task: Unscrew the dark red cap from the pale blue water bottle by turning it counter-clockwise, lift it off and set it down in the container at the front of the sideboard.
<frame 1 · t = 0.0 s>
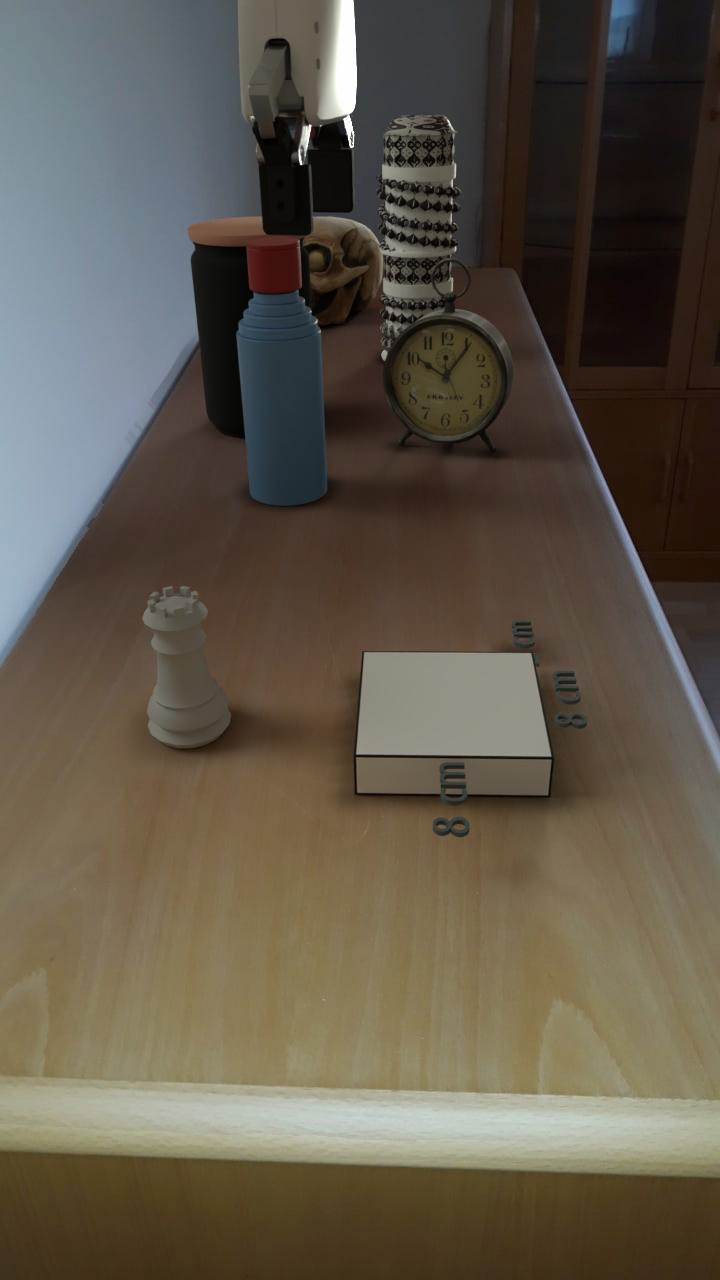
hand: (311, 222, 66), 21 cm above the table, tool pointing down, fingers open, 9 cm apart
bottle: (288, 490, 81), on the table
rook chess piece: (191, 730, 53), on the table
decorative candle: (416, 358, 116), on the table
alarm clock: (447, 448, 90), on the table
skull: (322, 316, 134), on the table
container: (467, 739, 52), on the table
cap: (273, 245, 72), point 19 cm above the table, screwed on, not yet turned
coffee jar: (262, 424, 96), on the table
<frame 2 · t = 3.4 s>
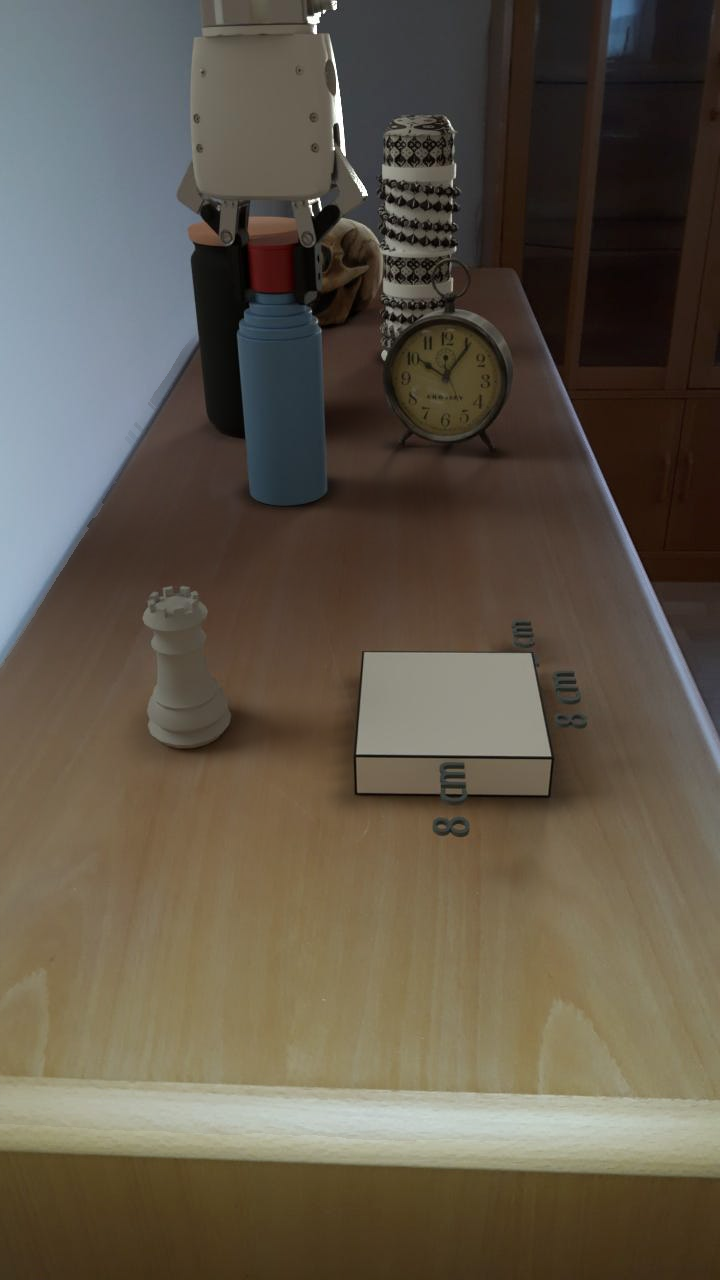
hand: (276, 297, 73), 15 cm above the table, tool pointing down, fingers closed on bottle, 4 cm apart
bottle: (288, 490, 81), on the table, touching gripper
cap: (274, 245, 72), point 19 cm above the table, screwed on, not yet turned, touching gripper
everything else where it was.
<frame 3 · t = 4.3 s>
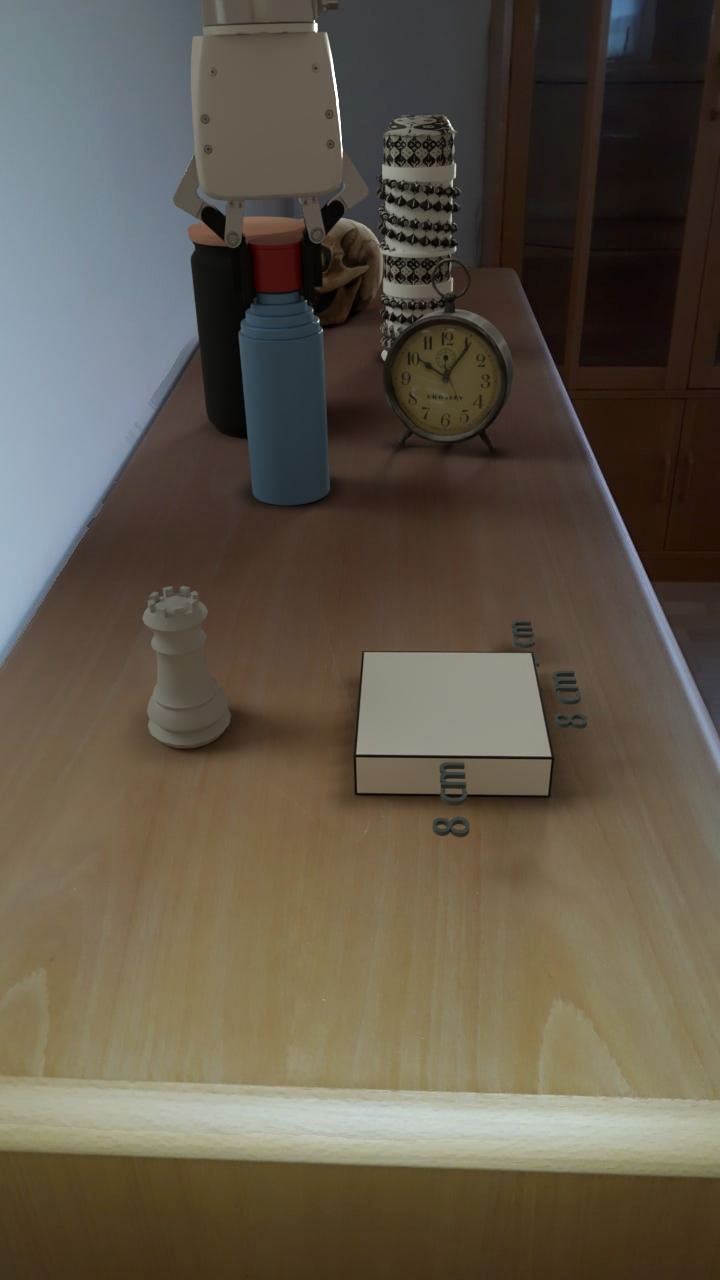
hand: (278, 296, 73), 15 cm above the table, tool pointing down, fingers closed on cap, 3 cm apart
bottle: (291, 490, 81), on the table
cap: (275, 244, 71), point 19 cm above the table, turned 15° so far, risen 0.0 cm, still on its thread, touching gripper
everything else where it was.
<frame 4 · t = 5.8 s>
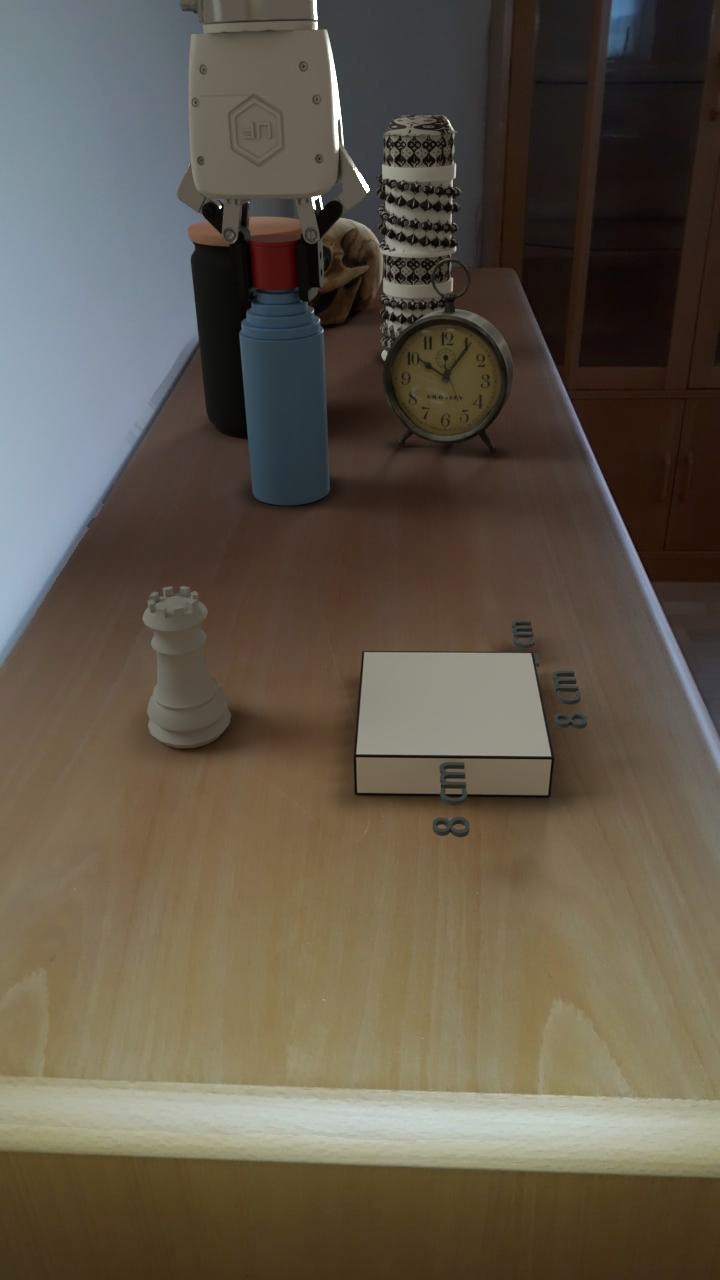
hand: (279, 295, 73), 16 cm above the table, tool pointing down, fingers closed on cap, 3 cm apart
cap: (275, 242, 71), point 19 cm above the table, turned 176° so far, risen 0.2 cm, still on its thread, touching gripper
everything else where it was.
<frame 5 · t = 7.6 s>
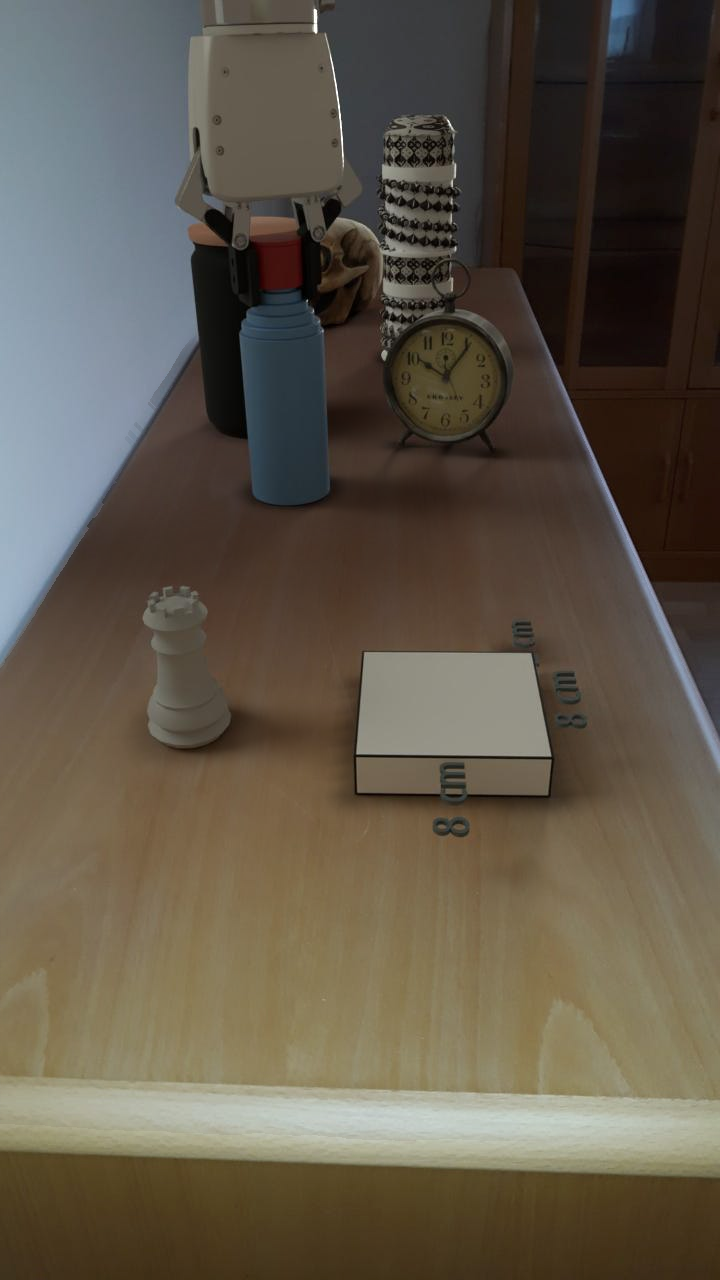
hand: (278, 297, 73), 15 cm above the table, tool pointing down, fingers closed on cap, 3 cm apart
bottle: (291, 490, 81), on the table, touching gripper
cap: (274, 242, 71), point 19 cm above the table, off its thread, touching gripper
everything else where it was.
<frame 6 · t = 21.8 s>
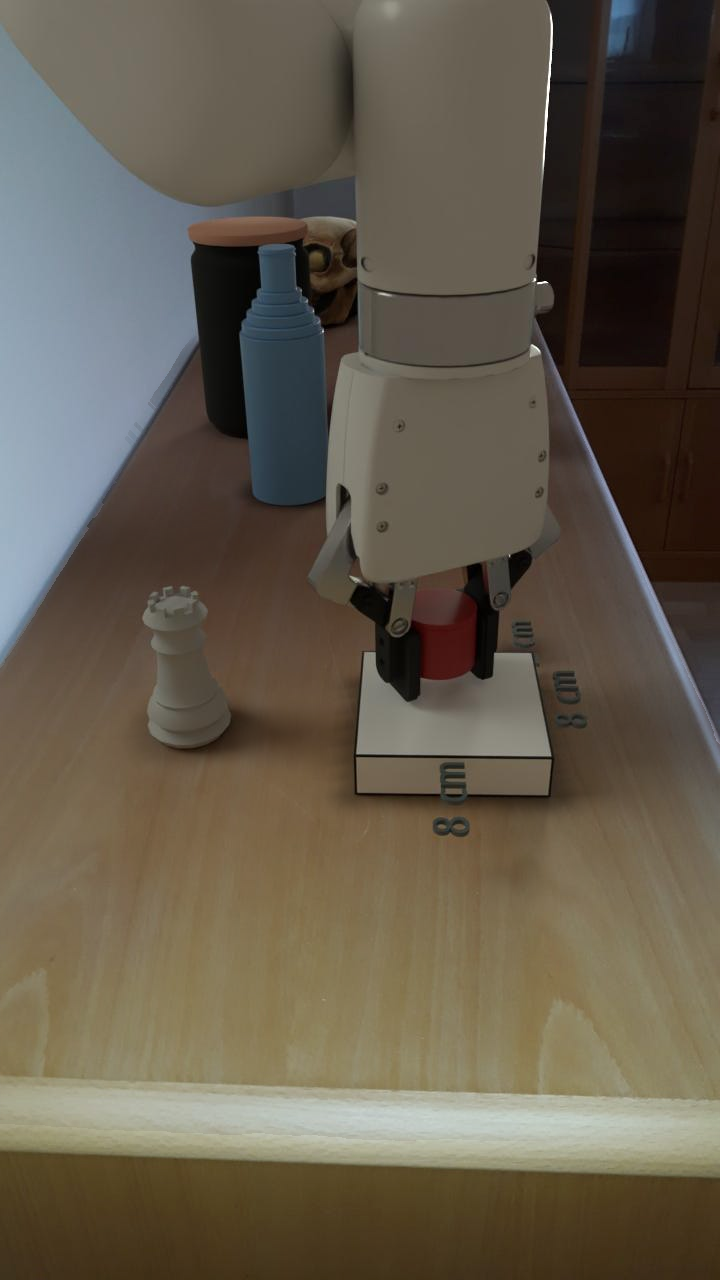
hand: (436, 674, 52), 3 cm above the table, tool pointing down, fingers closed on cap, 3 cm apart
bottle: (291, 490, 81), on the table
cap: (438, 611, 50), point 7 cm above the table, off its thread, touching gripper
everything else where it was.
when the fingers open (5 cm above the table, at t = 26.3 s): cap drops 3 cm, resting on container.
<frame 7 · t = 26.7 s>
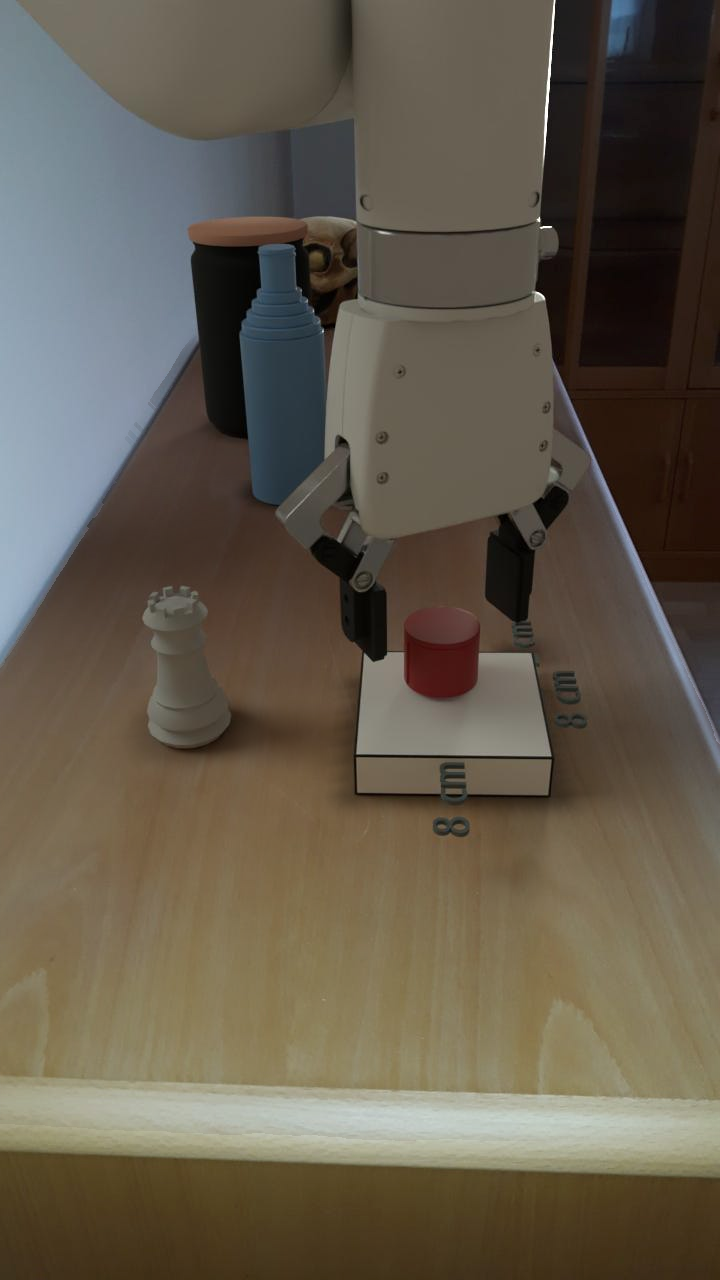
hand: (438, 626, 50), 6 cm above the table, tool pointing down, fingers open, 7 cm apart
container: (467, 739, 52), on the table, touching cap
cap: (441, 629, 50), point 6 cm above the table, off its thread, touching container
everything else where it was.
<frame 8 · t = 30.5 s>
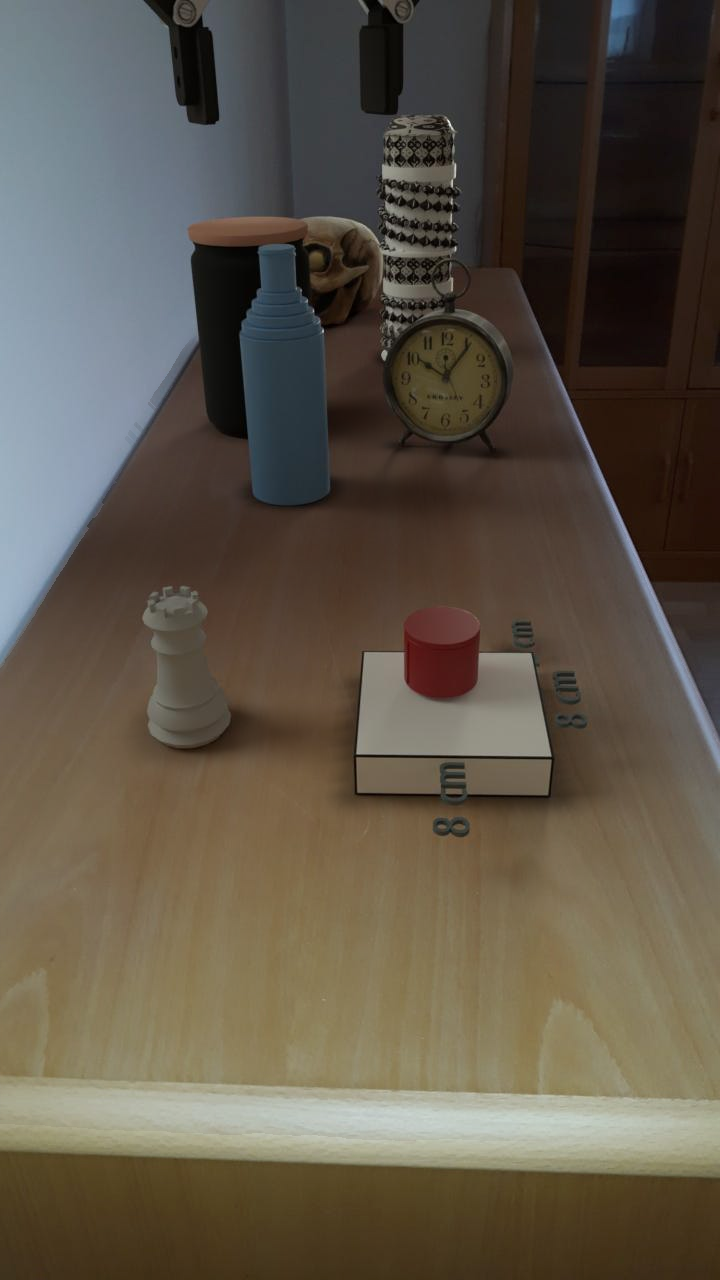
hand: (294, 118, 50), 28 cm above the table, tool pointing down, fingers open, 9 cm apart
nothing on the table moved.
at the end: cap came off its thread; cap inside the target area on the container (2.1 cm from its centre), point 5.8 cm above the container's base; the gripper is holding nothing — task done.
